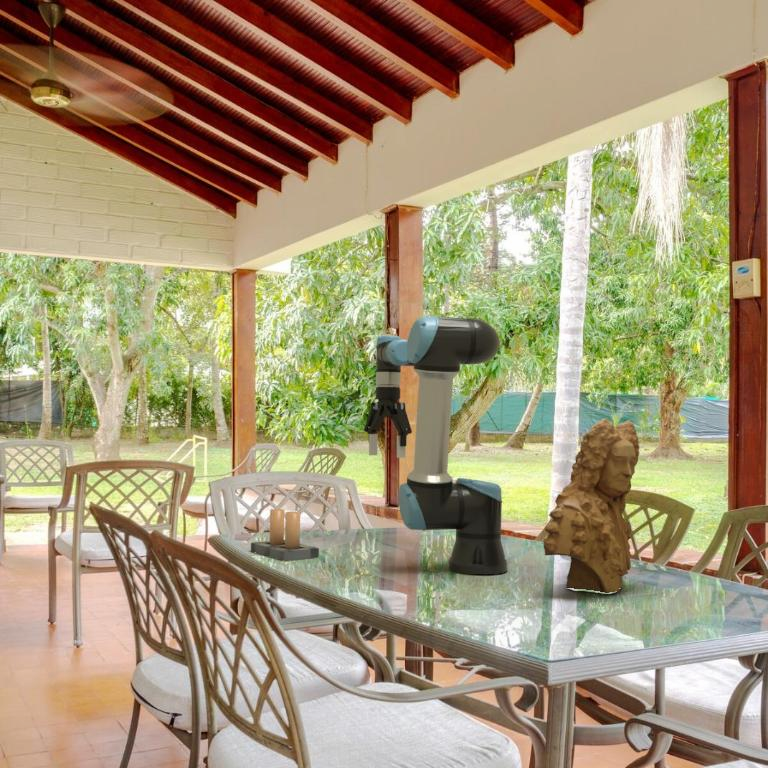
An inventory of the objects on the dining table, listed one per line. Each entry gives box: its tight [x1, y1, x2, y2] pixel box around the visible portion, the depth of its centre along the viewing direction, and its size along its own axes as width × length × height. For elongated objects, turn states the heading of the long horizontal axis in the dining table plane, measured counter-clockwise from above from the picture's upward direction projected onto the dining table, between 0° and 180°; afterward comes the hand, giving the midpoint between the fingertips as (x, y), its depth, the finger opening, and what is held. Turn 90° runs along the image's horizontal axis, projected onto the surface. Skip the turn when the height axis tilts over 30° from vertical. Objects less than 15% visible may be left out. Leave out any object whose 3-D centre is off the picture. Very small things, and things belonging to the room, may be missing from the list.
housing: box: [250, 539, 320, 562], centre depth 241 cm, size 18×11×2 cm, turn 38°
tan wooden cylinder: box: [284, 510, 301, 550], centre depth 237 cm, size 4×4×12 cm
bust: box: [543, 417, 640, 593], centre depth 203 cm, size 34×18×40 cm, turn 149°
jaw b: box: [268, 508, 285, 546], centre depth 244 cm, size 4×4×12 cm
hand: (386, 456), depth 262 cm, fingers open, 13 cm apart
